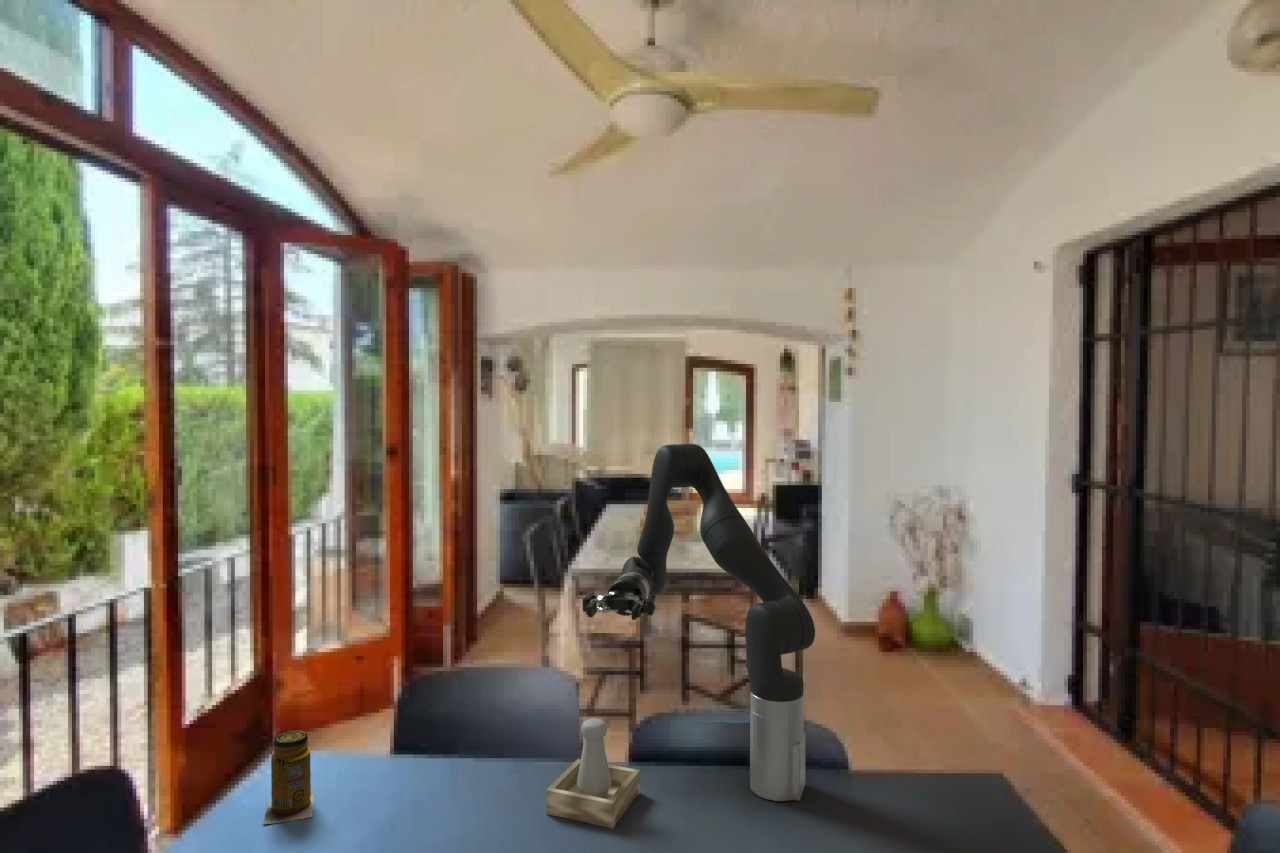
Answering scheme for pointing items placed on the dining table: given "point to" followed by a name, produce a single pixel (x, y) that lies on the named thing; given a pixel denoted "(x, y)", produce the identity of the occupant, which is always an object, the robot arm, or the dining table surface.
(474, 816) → the dining table surface
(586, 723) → the salt shaker
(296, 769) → the condiment
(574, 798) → the serving bin
